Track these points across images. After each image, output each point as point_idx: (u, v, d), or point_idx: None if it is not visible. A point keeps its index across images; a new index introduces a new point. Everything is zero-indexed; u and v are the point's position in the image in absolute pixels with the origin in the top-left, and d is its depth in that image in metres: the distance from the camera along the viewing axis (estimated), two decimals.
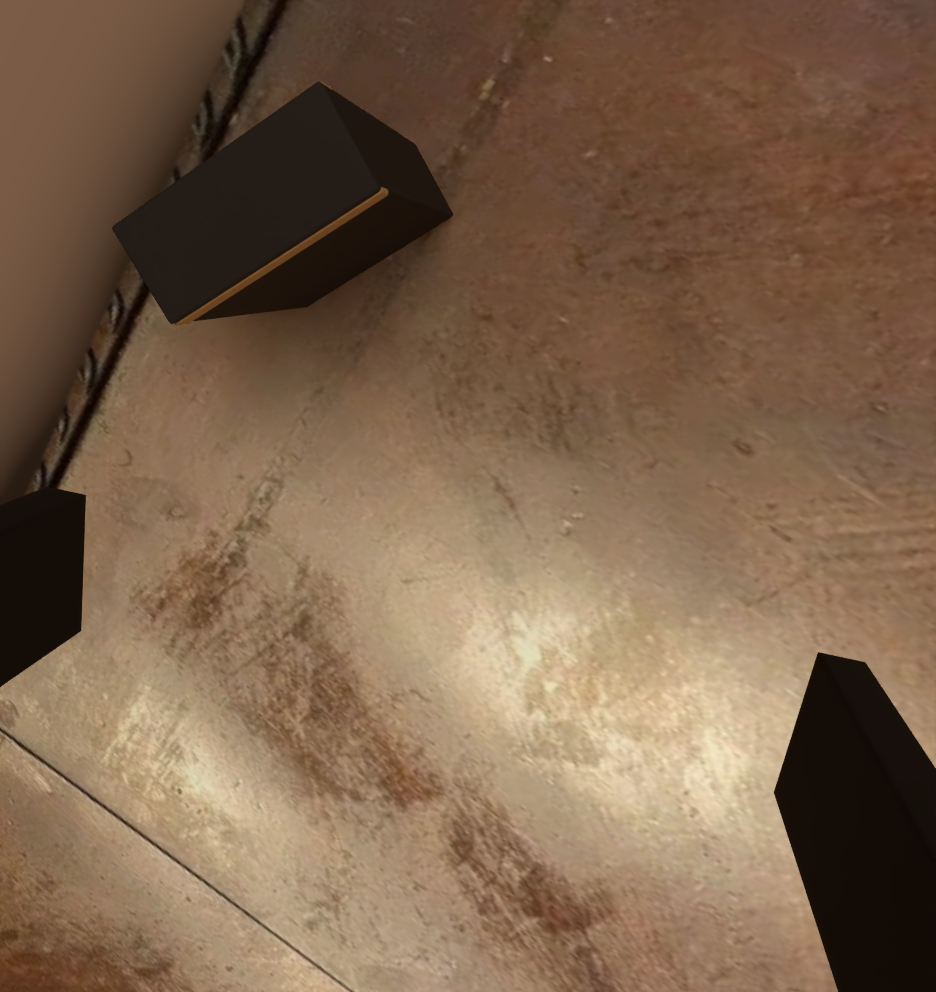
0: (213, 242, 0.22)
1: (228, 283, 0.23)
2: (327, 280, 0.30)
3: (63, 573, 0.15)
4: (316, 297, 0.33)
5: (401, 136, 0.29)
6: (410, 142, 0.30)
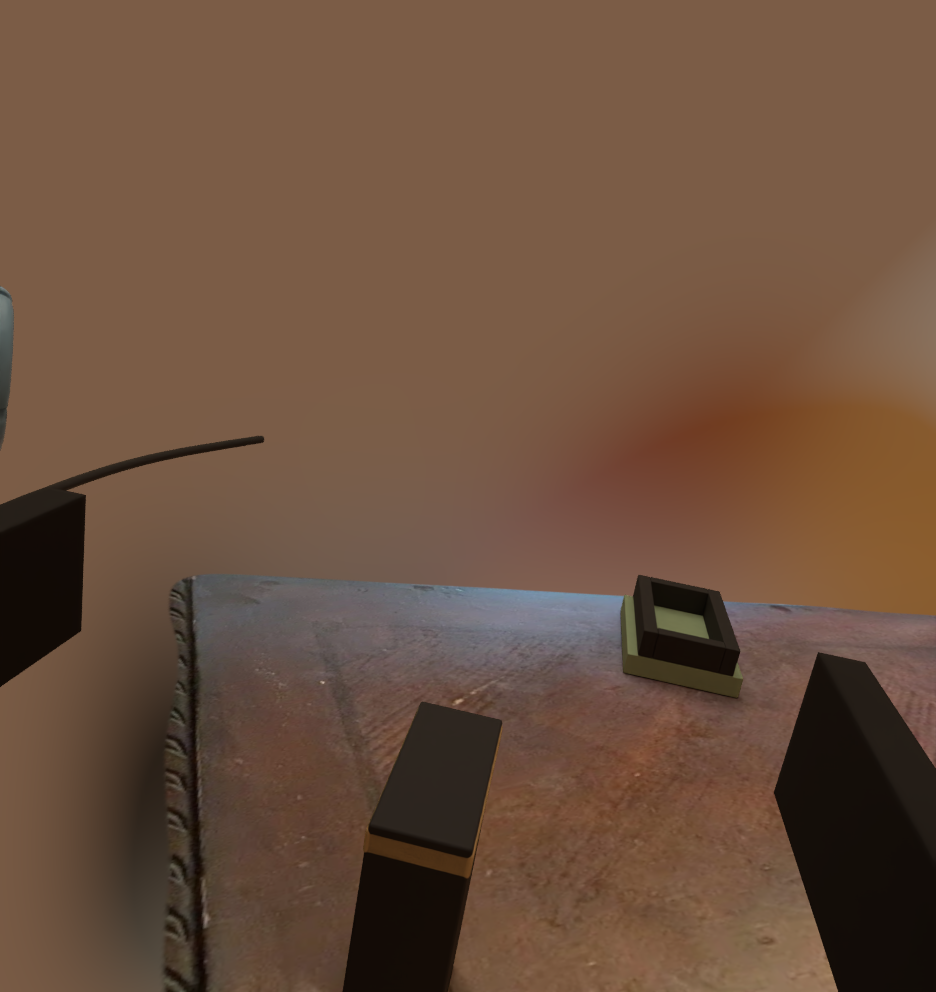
0: (447, 789, 0.25)
1: (480, 802, 0.25)
2: None
3: (63, 573, 0.15)
4: None
5: None
6: None
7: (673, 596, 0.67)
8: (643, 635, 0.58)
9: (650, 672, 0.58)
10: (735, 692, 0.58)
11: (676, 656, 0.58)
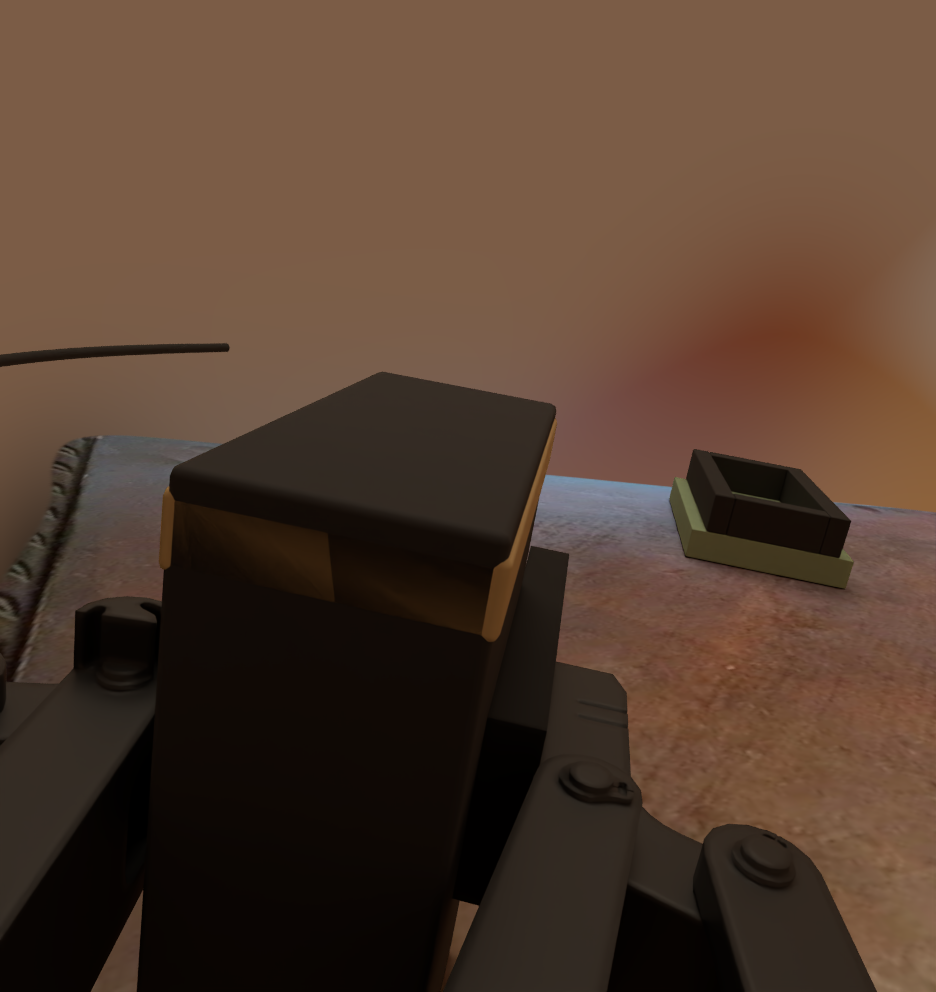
0: (429, 449, 0.09)
1: (525, 474, 0.09)
2: None
3: None
4: None
5: None
6: None
7: (740, 475, 0.51)
8: (714, 502, 0.42)
9: (723, 555, 0.42)
10: (842, 580, 0.42)
11: (760, 530, 0.42)
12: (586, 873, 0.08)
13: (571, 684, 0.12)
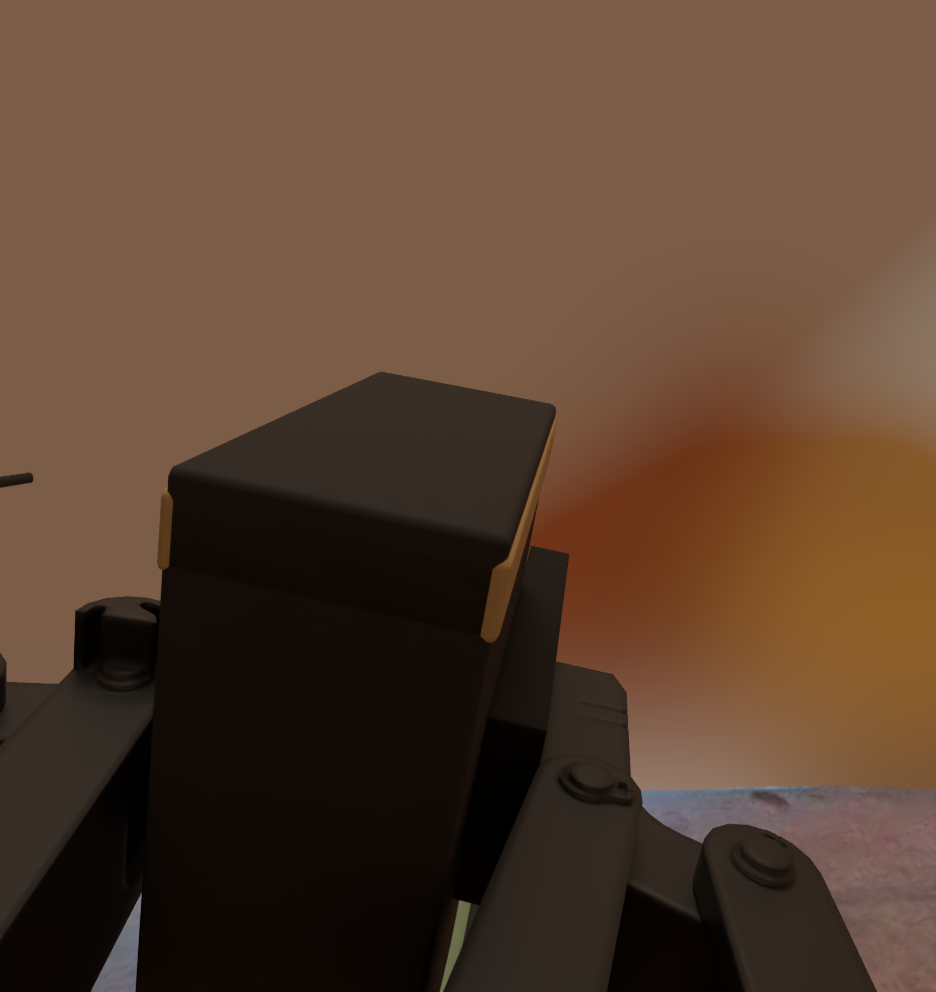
0: (429, 449, 0.09)
1: (524, 474, 0.09)
2: None
3: None
4: None
5: None
6: None
7: None
8: None
9: None
10: None
11: None
12: (585, 873, 0.08)
13: (571, 684, 0.12)
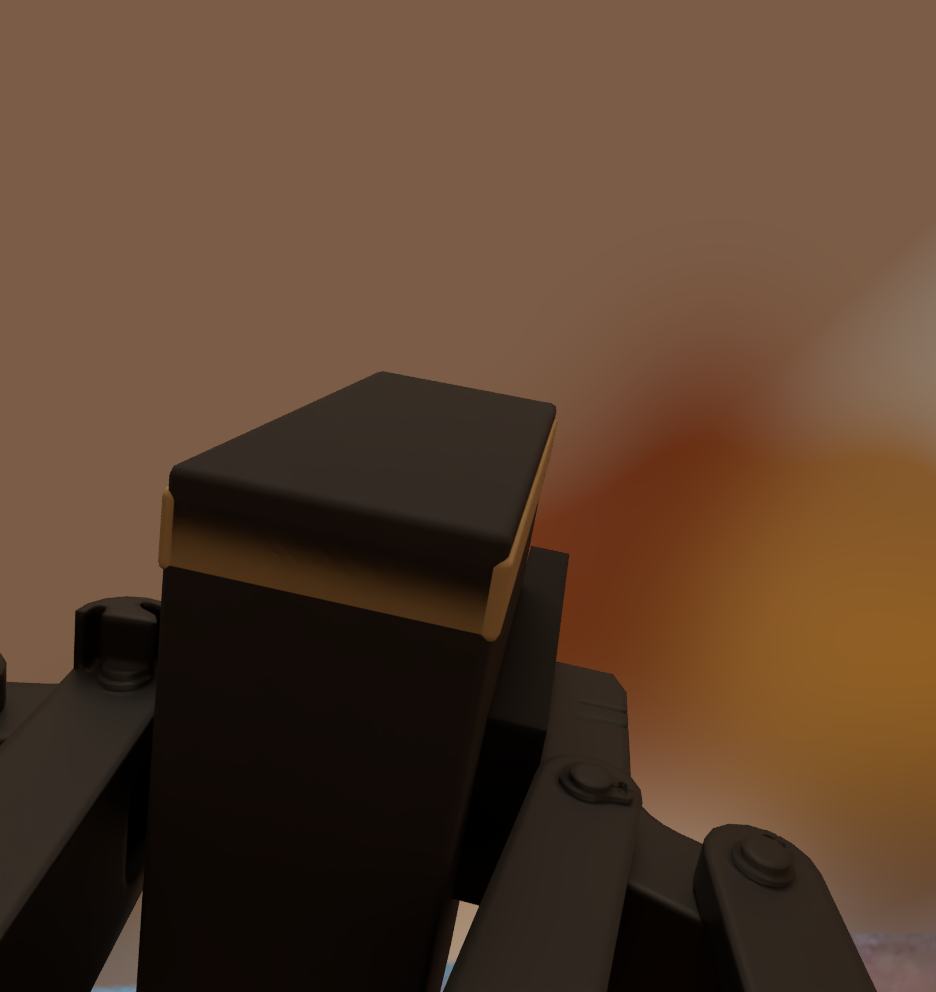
0: (429, 448, 0.09)
1: (524, 474, 0.09)
2: None
3: None
4: None
5: None
6: None
7: None
8: None
9: None
10: None
11: None
12: (586, 873, 0.08)
13: (571, 684, 0.12)
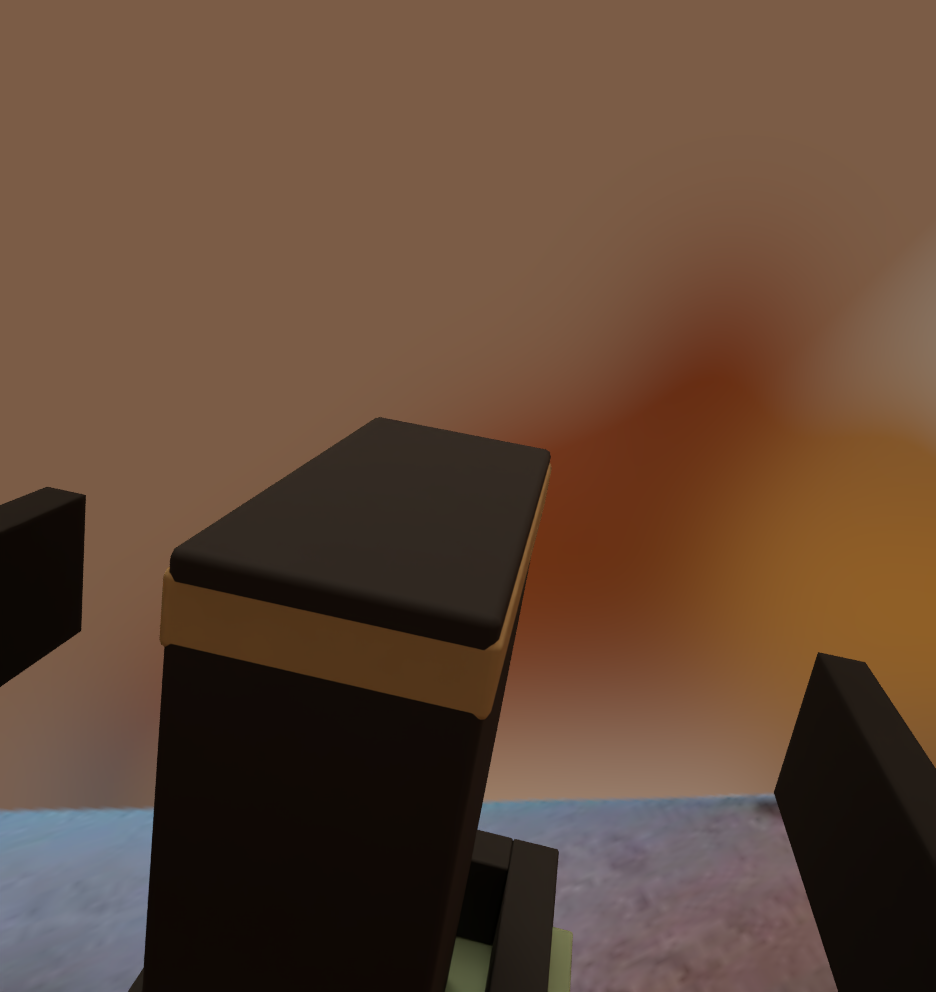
0: (424, 514, 0.09)
1: (516, 541, 0.09)
2: None
3: (63, 573, 0.15)
4: None
5: None
6: None
7: None
8: None
9: None
10: None
11: None
12: None
13: None
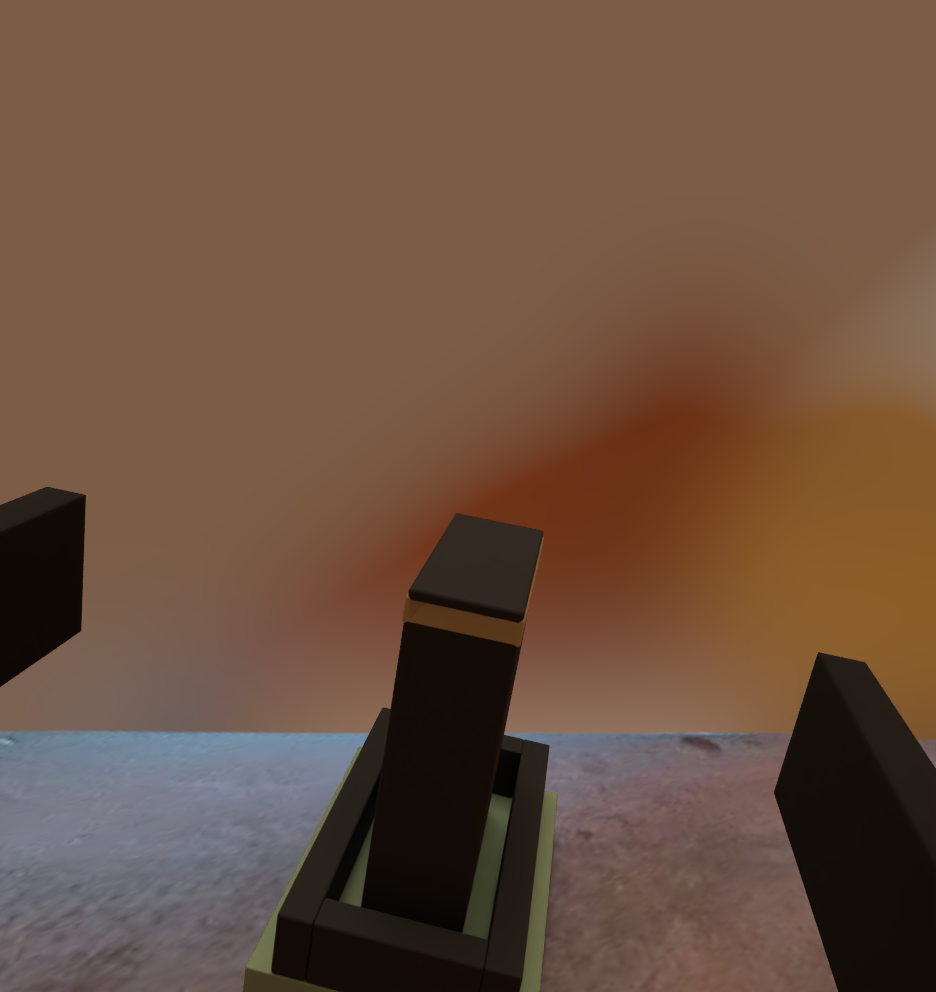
0: (491, 571, 0.23)
1: (528, 582, 0.23)
2: (484, 824, 0.25)
3: (63, 573, 0.15)
4: None
5: None
6: None
7: None
8: (277, 926, 0.22)
9: None
10: None
11: (362, 979, 0.22)
12: None
13: None
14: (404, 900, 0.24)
